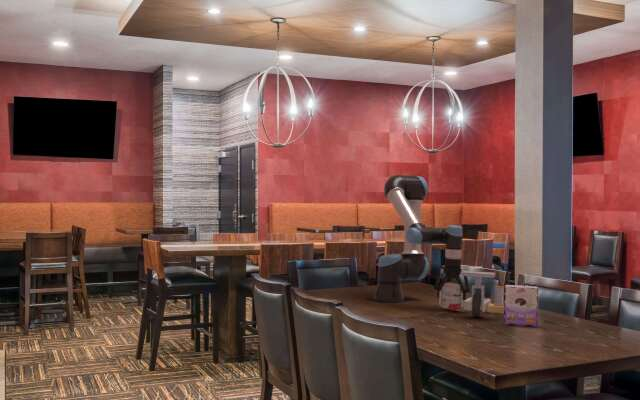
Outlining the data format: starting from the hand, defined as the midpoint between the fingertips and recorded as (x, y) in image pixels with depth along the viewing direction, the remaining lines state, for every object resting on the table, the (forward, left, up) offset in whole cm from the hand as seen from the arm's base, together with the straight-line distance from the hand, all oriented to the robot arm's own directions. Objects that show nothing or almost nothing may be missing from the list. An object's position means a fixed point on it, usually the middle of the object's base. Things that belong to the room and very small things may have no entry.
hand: (451, 305), depth 325 cm
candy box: (+34, -21, -3) cm, 41 cm away
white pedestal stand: (+14, -11, -2) cm, 18 cm away
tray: (+10, +13, -2) cm, 17 cm away
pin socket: (+20, +11, -2) cm, 23 cm away
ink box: (0, 0, -1) cm, 1 cm away
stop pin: (+20, +11, -2) cm, 23 cm away
